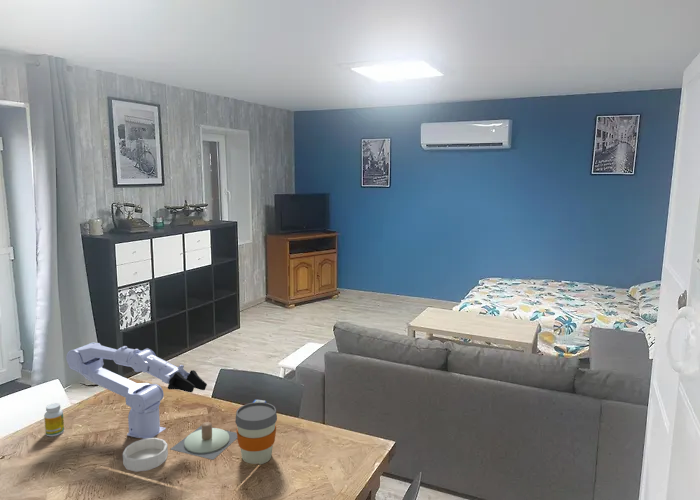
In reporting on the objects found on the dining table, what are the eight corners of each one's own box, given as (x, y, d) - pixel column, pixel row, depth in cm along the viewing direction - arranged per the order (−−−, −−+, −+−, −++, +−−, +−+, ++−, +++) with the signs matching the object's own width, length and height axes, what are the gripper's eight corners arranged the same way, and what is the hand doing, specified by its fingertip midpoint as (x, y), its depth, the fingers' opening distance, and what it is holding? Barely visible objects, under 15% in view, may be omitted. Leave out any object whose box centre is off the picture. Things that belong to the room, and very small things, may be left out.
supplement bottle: (44, 432, 158) (42, 405, 157) (62, 427, 162) (61, 400, 160) (46, 438, 154) (44, 411, 153) (65, 433, 157) (63, 406, 156)
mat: (170, 450, 148) (170, 449, 148) (201, 426, 163) (201, 425, 163) (213, 461, 143) (213, 459, 143) (241, 435, 158) (241, 433, 158)
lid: (174, 448, 149) (174, 430, 148) (202, 427, 162) (202, 411, 161) (212, 457, 144) (211, 439, 143) (237, 434, 157) (237, 418, 157)
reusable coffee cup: (284, 450, 150) (284, 405, 148) (264, 472, 138) (264, 424, 136) (249, 442, 154) (249, 399, 152) (227, 463, 142) (226, 416, 140)
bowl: (114, 467, 139) (114, 455, 139) (144, 446, 150) (144, 435, 150) (147, 476, 135) (146, 463, 135) (175, 454, 146) (175, 442, 146)
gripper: (156, 360, 146) (192, 377, 143) (182, 358, 160) (215, 374, 157) (147, 381, 146) (183, 399, 142) (173, 378, 160) (206, 395, 156)
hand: (199, 388), depth 149 cm, fingers open, 7 cm apart
